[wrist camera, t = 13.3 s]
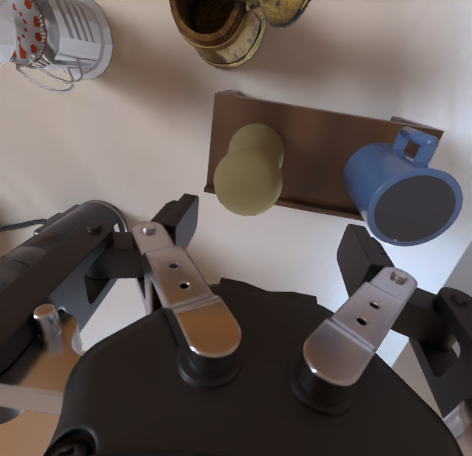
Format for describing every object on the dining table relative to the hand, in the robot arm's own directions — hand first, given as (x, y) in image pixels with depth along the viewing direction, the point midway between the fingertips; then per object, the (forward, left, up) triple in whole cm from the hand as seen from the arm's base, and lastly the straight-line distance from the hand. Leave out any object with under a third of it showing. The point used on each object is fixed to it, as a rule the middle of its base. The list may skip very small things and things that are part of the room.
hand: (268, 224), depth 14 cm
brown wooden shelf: (+4, 0, -26) cm, 26 cm away
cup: (+11, 0, -16) cm, 19 cm away
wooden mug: (-6, +12, -26) cm, 29 cm away
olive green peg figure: (-2, 0, -16) cm, 16 cm away
